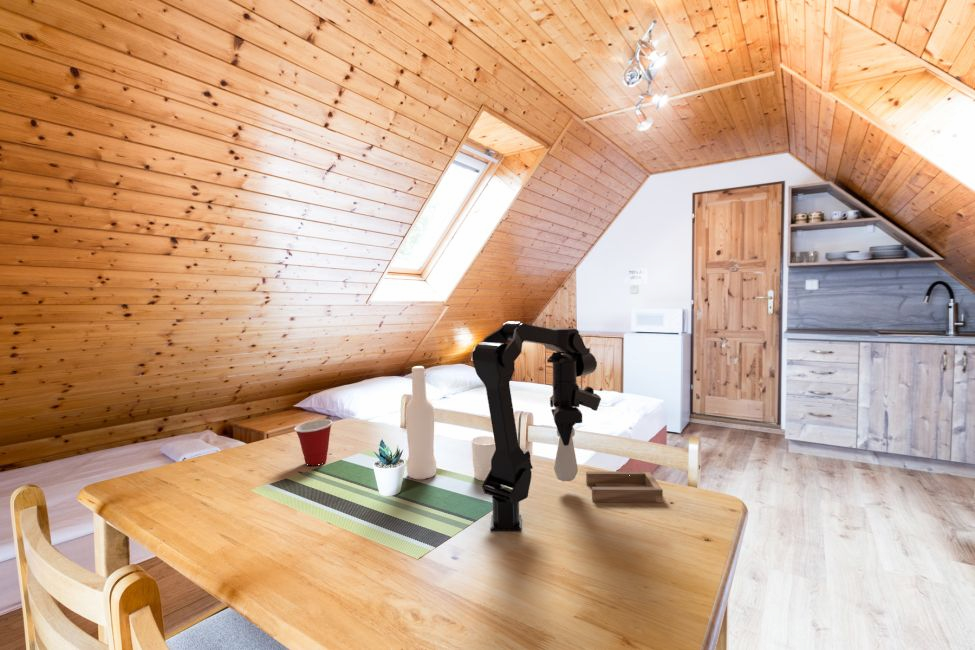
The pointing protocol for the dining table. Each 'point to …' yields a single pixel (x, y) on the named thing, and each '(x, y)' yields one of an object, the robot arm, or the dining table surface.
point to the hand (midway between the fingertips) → (565, 442)
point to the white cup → (482, 455)
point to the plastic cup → (314, 440)
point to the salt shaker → (566, 460)
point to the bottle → (420, 429)
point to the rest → (624, 487)
